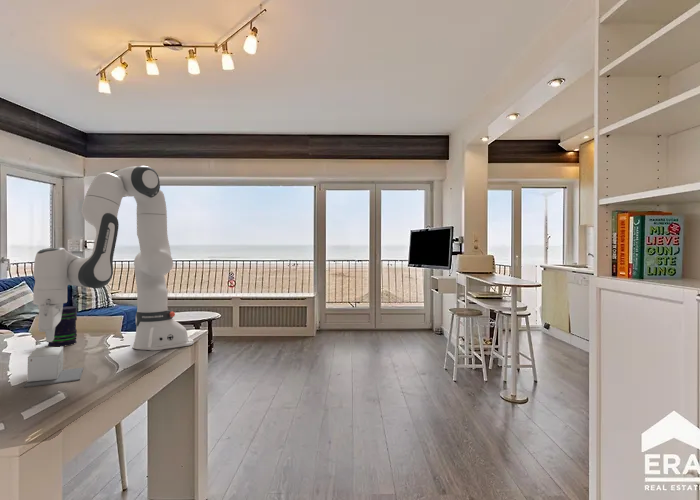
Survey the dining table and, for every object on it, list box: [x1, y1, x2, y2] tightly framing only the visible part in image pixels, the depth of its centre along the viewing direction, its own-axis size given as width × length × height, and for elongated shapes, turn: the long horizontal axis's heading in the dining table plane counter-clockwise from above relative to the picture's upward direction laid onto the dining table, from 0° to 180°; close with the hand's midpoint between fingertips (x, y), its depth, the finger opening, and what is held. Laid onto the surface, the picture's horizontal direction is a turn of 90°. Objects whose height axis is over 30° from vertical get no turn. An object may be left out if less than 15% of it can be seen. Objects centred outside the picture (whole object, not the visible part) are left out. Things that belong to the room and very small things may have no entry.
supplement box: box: [26, 346, 64, 383], centre depth 125 cm, size 7×7×13 cm
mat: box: [23, 367, 84, 388], centre depth 124 cm, size 13×14×1 cm
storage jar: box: [47, 305, 78, 347], centre depth 169 cm, size 10×10×15 cm
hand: (50, 341), depth 132 cm, fingers closed
